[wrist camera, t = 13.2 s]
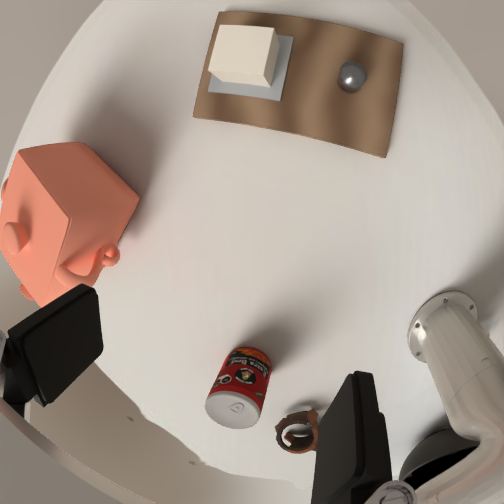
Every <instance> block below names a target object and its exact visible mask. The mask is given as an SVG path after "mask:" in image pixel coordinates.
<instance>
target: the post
mask: <svg viewBox="0 0 504 504" xmlns="http://www.w3.org/2000/svg"><path fill="white" fill-rule="evenodd" d="M366 79H367V72H366V70H365V68H364V67H363V66H362V65H361V64H359V63H357V62H354V61H348V62H345V63H344V64H342V66H341V67H340V71H339V74H338V78H337V83H338V85H339V87H340V88H341V89H342V90H343V91H345V92H347V93H356V92H358V91H359V90H360V89H361V87H362V86H363V84H364V83H365V81H366Z"/></svg>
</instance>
